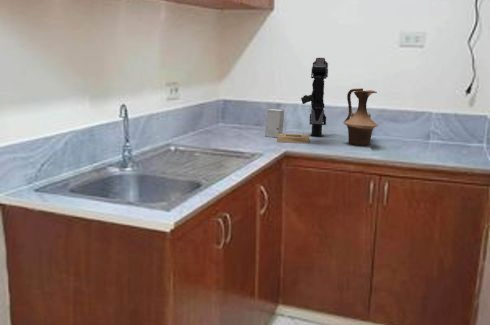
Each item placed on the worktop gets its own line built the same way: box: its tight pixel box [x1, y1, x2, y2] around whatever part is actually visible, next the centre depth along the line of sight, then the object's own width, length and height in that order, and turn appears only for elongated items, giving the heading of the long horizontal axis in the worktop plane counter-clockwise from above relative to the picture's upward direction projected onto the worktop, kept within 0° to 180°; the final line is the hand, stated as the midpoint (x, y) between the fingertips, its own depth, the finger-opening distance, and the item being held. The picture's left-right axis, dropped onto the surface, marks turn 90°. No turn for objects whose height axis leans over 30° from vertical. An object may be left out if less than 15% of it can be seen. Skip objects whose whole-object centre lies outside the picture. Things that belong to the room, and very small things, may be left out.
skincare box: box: [264, 108, 285, 138], centre depth 273 cm, size 8×6×15 cm
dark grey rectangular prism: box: [310, 108, 324, 125], centre depth 257 cm, size 4×6×7 cm, turn 84°
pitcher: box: [342, 87, 379, 146], centre depth 252 cm, size 18×17×28 cm
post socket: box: [276, 132, 310, 144], centre depth 261 cm, size 14×16×2 cm
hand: (316, 120), depth 258 cm, fingers closed on dark grey rectangular prism, 4 cm apart
